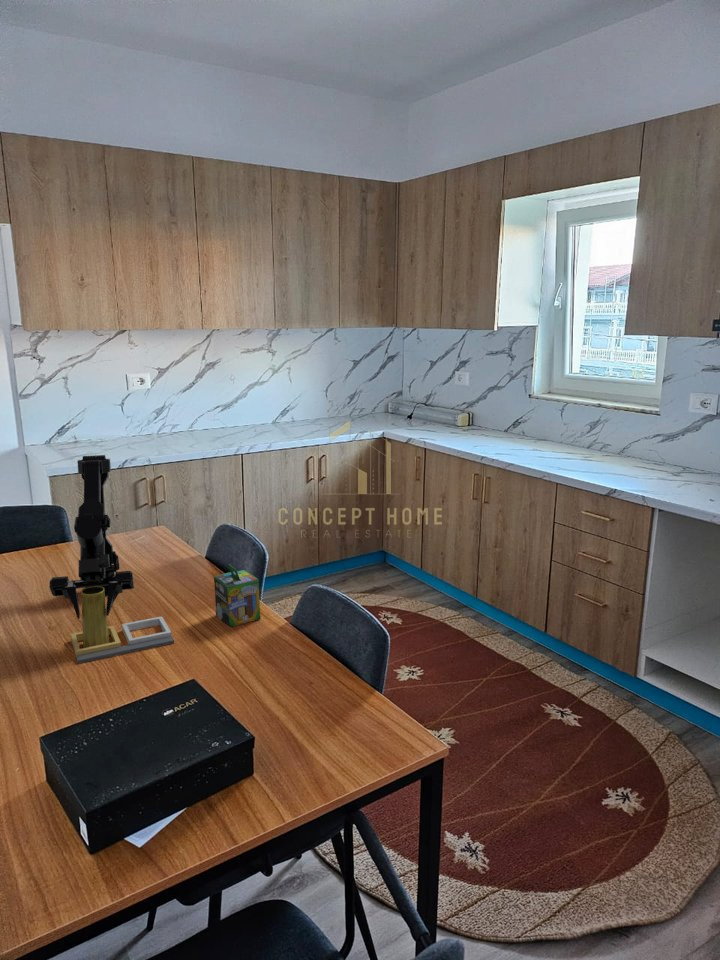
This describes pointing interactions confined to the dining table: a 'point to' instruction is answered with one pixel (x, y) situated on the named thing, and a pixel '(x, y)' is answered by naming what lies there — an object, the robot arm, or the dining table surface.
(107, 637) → the vase
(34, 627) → the dining table surface
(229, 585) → the chalk box
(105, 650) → the socket panel
